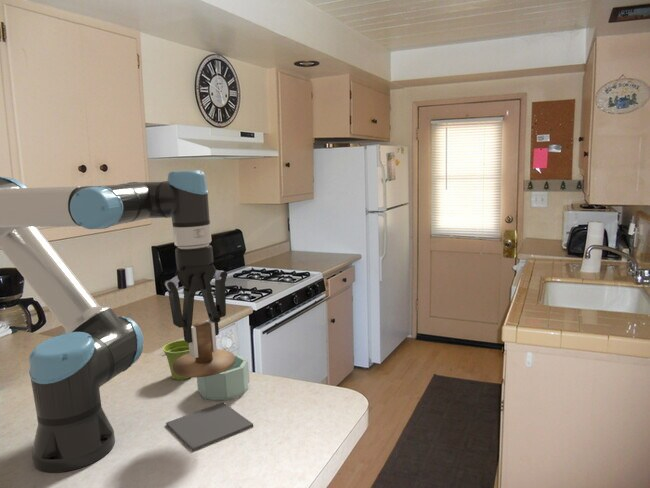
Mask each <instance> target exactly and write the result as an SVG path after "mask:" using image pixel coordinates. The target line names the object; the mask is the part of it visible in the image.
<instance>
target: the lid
mask: <svg viewBox="0 0 650 488" xmlns="http://www.w3.org/2000/svg"><path fill="white" fill-rule="evenodd" d="M192 326H194V327H196V336H197V346H198V357H197V358H194V357H193V356H191V355H190V353H188V354H186V355H183V356H181V357H179V358H178V359H176V360H175V361H174V363H173V371H174V373H175V374H177V375H179V376H183V377H188V378H195V379H197V377H207V376H212V375H216V374H219V373H222V372H224V371H226V370H228V369H230V368H231V367H232V366H233V365H234V364H235V355H236V354H234V353H233V352H231V351H230V350H227V349H220V348H217V352H214V353H213V352H212V345H211V334H210V323H208V322H206V321H200V322H195V323H192Z"/></svg>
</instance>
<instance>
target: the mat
mask: <svg viewBox="0 0 650 488" xmlns="http://www.w3.org/2000/svg"><path fill="white" fill-rule="evenodd" d="M165 425H166V427H168V428H169V430H170V431H172V432H173V433H174V434H175V435H176V436H177V437H178V438H179V439H180V440H181V442H183V443H184V445H186V446H187V447H188V448H189V449H190V450H191V451H192V452H195V451H197V450H199V449H202V448H204V447H207V446H210V445H212V444H215V443H216V442H219V441H221V440H224V439H225V438H229V437H231V436H234V435H236V434H239V433H241V432H243V431H247V430H248V429H251V428H253V427H254V423H253V422H251V421H250V420H248V419H247V418H246V417H244V416H243V415H241V414H240V413H239V412H238V411H236V410H235V409H234V408H233V407H231V406H229V405H228V404H226V403H225V402H223V401H221V402H219V403H217V404H213V405H211V406H208V407H206V408H205V407H204V408H203V409H201V410H198V411H193V412H192V413H189V414H186V415H183V416H180V417H178V418H176V419H173V420H169V421H167V422H165Z"/></svg>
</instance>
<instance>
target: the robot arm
mask: <svg viewBox="0 0 650 488" xmlns="http://www.w3.org/2000/svg"><path fill="white" fill-rule="evenodd" d="M161 218H162V219H163V218H165V219H167V218H171V222H172V232H173V234H172V235H173V243H174V246H175V247H176V248H175V249H174V252H175V264H176V272H175V276H174V277H172V278H171V279H168V280H164V282H163V286H164V287H165V288H166V290H167V293H168V298H169V306H170V312H171V316H172V324H173V325H174V326H176V327H178V328H182V329H183V330H182V331H183V340H185V342H187V343H189V352H190V355H191V356H193V357H194V358H197V357H198V346H197V336H196V327H194V326H192V325H193V316H194V315H193V314H194V303H195V296H196V295H197V294H196V293H197V292H196V291H198V290H200V292H201V295H202V298H203V302H204V305H205V309H206V312H207V317H208V319H207V320H205V322H208V323H210V334H211V345H212V352H213V353H214V352H217V349H218V347H217V346H218V345H217V338H216V337H217V336H219V334H220V331H219V330H220V328H219V323H220V322H221V318H223V317H226V315H227V302H226V281H227V278H228V272H227V271H224V270H218V269H216V267H215V265H214V251H213V246H212V245H211V242H212V231H211V230H212V229H211V220H210V207H209V190H208V185H207V178H206V174H205V172H204V171H202V170H199V169H198V170H197V169H196V170H195V169H193V170H177V171H173V170H172V171H169V172H168V174H167V179H166V181H142V182H141V181H140V182H139V181H132V182H131V181H130V182H127V183H121V184H110V185H86V186H58V187H57V186H53V187H52V186H48V187H47V186H46V187H28V186H26V185H25V184H24V183H23V182H21V180H20V181H19V180H17V179H15V178H12V177H7V176H6V177H4V176H3V177H2V176H0V250H1V251H2V252H3V254H4V255H5V256H6V257H7V259H8V260H9V261H10V262H11V264H13V266H14V267H15V268H16V270H17V271H18V272H19V273H20V274H21V276H22V277H23V278H24V280H25V281H26V283H28V284H29V286H30V287H31V289H32V290H33V291H34V292H35V293H36V295H37V296H38V297H39V298H40V299H41V301H42V302H43V303H44V305H45V307H46V308H48V310H49V311H50V312H51V314H52V315H53V316H54V317H55V318H56V320H57V321H58V322H59V323H60V325H61V326H62V327H63V328H64V333H61V334H60V335H55V336H52V337H50V338H47V339H45V340H44V341H42V342H40V343H39V344H37V345H36V346H35V347H34V348H33V350H32V351H31V352H30V354H29V360H28V362H29V372H28V373H29V374H28V375H29V377H30V382H31V388H32V394H33V400H34V405H35V412H36V417H37V428H36V430H35V435H34V441H33V445H32V449H31V450H32V451H31V456H32V457H31V458H32V463H33V466H34V467H35V469H37V470H39V471H42V472H46V473H62V472H68V471H73V470H77V469H80V468H83V467H86V466H89V465H91V464H93V463H96V462H97V461H99V460H101V459H102V458H103V457H105V456H106V455H108V453H110V451H112V450H113V448H114V446H115V443H116V437H115V431H114V428H113V426H112V423H111V422H110V420H109V418H108V416H107V415H106V413H105V411H104V409H103V407H102V400H101V391H100V388H101V387H102V386H103V385H105V384H106V383H108V382H110V381H111V380H112V379H113V378H115V377H117V376H118V375H120V374H121V373H122V372H125V371H127V370H128V369H129V368H131V367H132V366H133V365H134V364H135V363H136V362H137V361H139V358H141V355H142V354H143V351H144V334H143V332H142V330H141V328H140V326H139V325H138V323H136V321H135V320H133V319H132V318H130V317H126V316H123V315H122V316H121V315H120V316H118V315H117V314H116V313H115V312H114V310H113V309H112V307H110V306H104V305H103V306H101V305H100V304H99V303H98V302H97V300H96V299H95V297H93V295H92V294H91V293H90V292H89V290H87V288H86V287H85V285H84V284H83V283H82V281H80V279H79V278H78V277H77V276H76V274H75V273H74V272H73V271H72V269H71V268H70V267H69V265H68V264H67V262H65V260H64V259H63V258H62V257H61V255H60V254H59V253H58V252H57V251H56V249H55V248H54V247H53V246H52V244H51V243H50V242H49V241H48V239H47V238H46V237H45V235H44V234H43V233H42V231H41V230H40V229H39V228H46V227H47V228H52V227H54V228H55V227H56V228H59V227H63V228H64V227H67V228H68V227H82V228H84V229H86V230H101V229H102V230H103V229H104V230H105V229H108V228H110V227H114V226H118V225H122V224H128V223H132V222H138V221H141V220H147V219H161ZM213 278H214V294H215V295H214V296H213V288H212V285H211V282H212V280H213ZM179 283H180V284H181V285H182V286H183V302H182V303H183V304H182V305H181V299H180V293H179V290H178V288H179ZM214 297H215V300H214ZM181 306H182V307H181Z"/></svg>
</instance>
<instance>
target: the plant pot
mask: <svg viewBox="0 0 650 488" xmlns="http://www.w3.org/2000/svg"><path fill="white" fill-rule="evenodd" d="M162 351H163V352H164V355H165V356H166V359H167V363H168V366H169V370H170V373H171V378H173V379H174V380H178V381H184V380H187V379H189V377H183V376H179V375H177V374H175V373H174V371H173V363H174V361H175V360H176V359H178V358H179V357H181V356H183V355H186V354H188V353H190V352H189V343H187V342H185V340H184V339H180V340H179V339H178V340H175V341H172V342H171V341H170V342H169V343H167V344H165V345H164V346H162Z"/></svg>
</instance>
